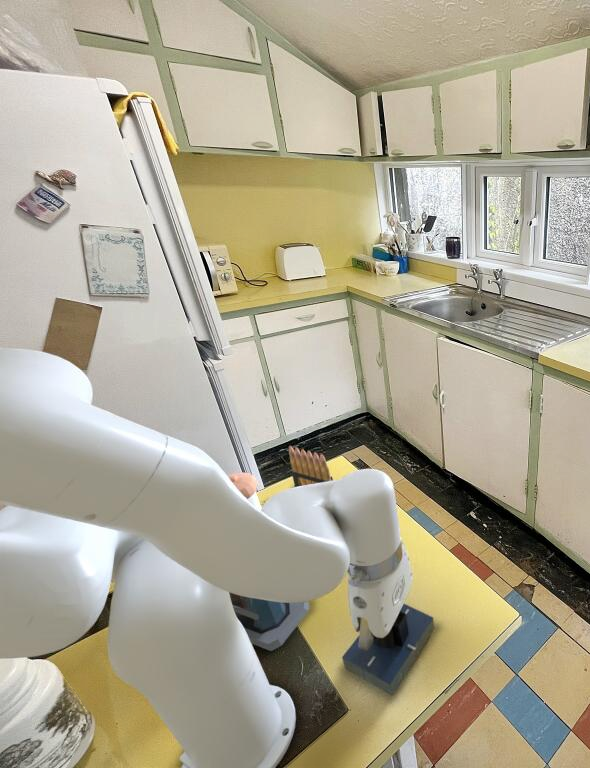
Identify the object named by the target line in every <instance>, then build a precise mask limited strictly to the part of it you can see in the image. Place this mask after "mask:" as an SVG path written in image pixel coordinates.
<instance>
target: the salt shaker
mask: <svg viewBox="0 0 590 768" xmlns="http://www.w3.org/2000/svg"><path fill="white" fill-rule="evenodd" d="M227 476H228V477H229V479H230V480H231V481H232V482H233V484H234V485H235V486H236V488H237V489H238V490H239V491H240V492H241V493H242V494H243V496H244V497H245V498H246V499H247V500H249V501H250V502H251V503H252V504H253V505H254V506H255V507H256V508H258V509H259V510H260V511H261V508H262V507H263V506H262V505H261V502H260V501H259V498H258V494H257V490H258V487H259V481H258V479H257V478H256V476H254V475H253V474H251V473H249V472H236V473H232V474H228V475H227Z"/></svg>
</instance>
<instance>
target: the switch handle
mask: <svg viewBox="0 0 590 768" xmlns="http://www.w3.org/2000/svg"><path fill="white" fill-rule="evenodd" d="M391 629H392V630H393V635H394V641H395V645H397V646H401V647H403V645H404V643H405V641H406V638H407V636H408V634H409V631H408V625H407V618H406V613H402V612H399V614H398V616H397V618H396V620H395V622H394V624H393V626H392V628H391Z"/></svg>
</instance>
